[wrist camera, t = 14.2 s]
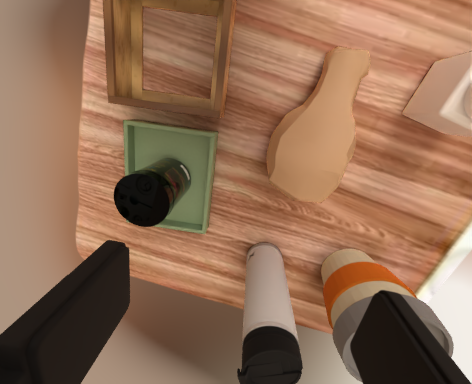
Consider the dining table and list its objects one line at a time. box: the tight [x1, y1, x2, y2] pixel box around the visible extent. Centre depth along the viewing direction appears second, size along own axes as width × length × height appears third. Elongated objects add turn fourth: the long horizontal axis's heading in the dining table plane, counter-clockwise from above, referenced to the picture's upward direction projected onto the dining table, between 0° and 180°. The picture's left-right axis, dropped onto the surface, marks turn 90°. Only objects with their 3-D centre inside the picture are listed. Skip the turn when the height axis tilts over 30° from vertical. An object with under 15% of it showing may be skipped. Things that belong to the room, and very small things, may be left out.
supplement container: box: [114, 158, 191, 227], centre depth 32 cm, size 7×7×10 cm
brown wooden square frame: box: [103, 0, 237, 118], centre depth 29 cm, size 15×15×5 cm
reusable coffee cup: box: [321, 249, 453, 382], centre depth 33 cm, size 13×12×15 cm
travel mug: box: [237, 242, 303, 384], centre depth 31 cm, size 6×7×20 cm
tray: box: [123, 120, 218, 234], centre depth 36 cm, size 16×13×3 cm
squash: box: [266, 46, 370, 203], centre depth 30 cm, size 11×20×9 cm, turn 164°
